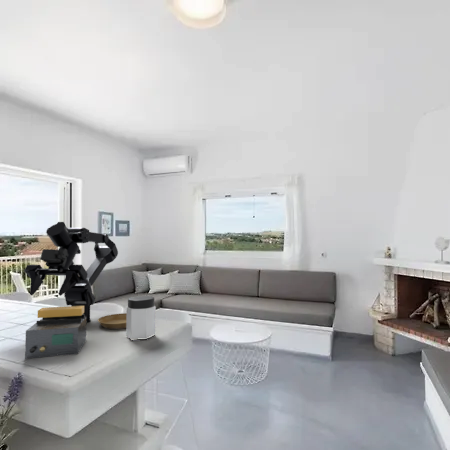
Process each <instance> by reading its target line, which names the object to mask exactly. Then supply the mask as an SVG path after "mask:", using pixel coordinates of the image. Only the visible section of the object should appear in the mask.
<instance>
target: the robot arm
mask: <svg viewBox="0 0 450 450" xmlns="http://www.w3.org/2000/svg"><path fill="white" fill-rule="evenodd" d="M45 233H46V235H47V237H48V238H49V239H50V241H51V242H52V243H53V245H54V246H55V247H57V248H58V249H51V248H49V249H48V248H47V249H46V248H45V249H44V248H43V249H42V252H41V255H40V258H39V260H40V261H43V262H45V264H44V265H45V266H46V267H47V268H43V267H42V265H40V264H28V265H26V266H25V268H24V270H23V271H24V273H25V274H26V275H27V276H28V278H29V279H30V286H29V287H30V288H29V295H30V296H34V294H35V293H36V292H37V291H38V290H39V289H40V287H41V286H42V285H43V283H44V280H45V279H46V277H47V276H56V277H58V276H60V277H64V276H65V278H64V280H63V282H62V285H61V286H60V288H59V291H58V293H57V294H58V295H59V296H62V295H64V300H65V303H66V306H84V313H83V314H85V317H86V323H91V321H92V320H91V306H93V305H95V303H96V296H95V295H94V294H93V287H92V286H93V285H94V283H95V282H96V280H97V279H98V277H99V276H100V274H101V273H102V271H103V270H104V268H105V267H106V265H108V264H110V263H112V262H113V261H115V259H116V258H117V257H118V254H119V251H118V248H117V245H116V243H115V242H113V241H112V240H111V239H110V237H109V235H108V234H106V233H99V232H92V231H90V229H87V228H86V227H67V226H66V223H65V221H58V222H57V223H55V224H53V225H51V226H49V227H48V228H47V229H46V232H45ZM86 243H94V247H93V251H94V253H95V259H94V260H93V261H92V263H91V264H90V266H89V267H88V268H87V269H86V268H85V267H84V266H83V264H75V263H74V259H75V257H76V255H79V254H80V255H81V253H82V252H81V251H82V250H81V248H80V246H79V245H78V244H86ZM99 244H104V245H105V246H103V245H101V246H100V245H99Z"/></svg>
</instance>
